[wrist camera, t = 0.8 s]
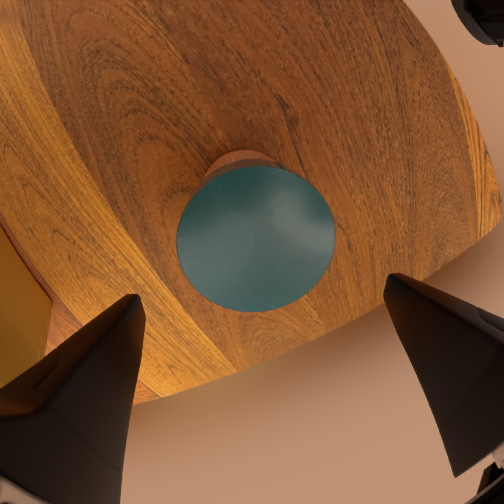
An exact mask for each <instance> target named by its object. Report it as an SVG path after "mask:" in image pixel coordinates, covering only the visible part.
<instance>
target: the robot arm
mask: <svg viewBox="0 0 504 504" xmlns="http://www.w3.org/2000/svg"><path fill="white" fill-rule="evenodd" d="M463 6H464V9H465V11H466V12H467V13H468V14H469V15H470V16H471V17H472V18H473V19H474V20H475V21H476V22H477V23H478V24H479V25H480V26H481V27H482V28H483V29H484V30H485V31H486V32H487V34H488V35H489V36H490V37H491V38H492V39H493V40H494V41H495V43H496V44H497V45H498V46H499V47H503V46H504V0H464V5H463ZM383 296H384V301H385V303H386V306H387V309H388V311H389V314H390V316H391V319H392V321H393V324H394V326H395V329H396V332H397V334H398V336H399V338H400V340H401V342H402V345H403V347H404V348H405V351H406V353H407V355H408V357H409V359H410V362H411V364H412V366H413V368H414V370H415V372H416V375H417V377H418V379H419V382H420V384H421V386H422V388H423V391H424V393H425V396H426V398H427V401H428V403H429V406H430V408H431V411H432V413H433V416H434V418H435V421H436V424H437V426H438V429H439V432H440V434H441V438H442V440H443V443H444V447H445V449H446V453H447V455H448V459H449V462H450V465H451V468H452V472H453V475H454V477H455V478H456V477H458V476H460V475H461V474H462V473H464V472H466V471H467V470H469V469H470V468H472V467H473V466H475V465H476V464H477V463H479V462H480V461H482V460H483V459H484V458H486V457H487V456H488V455H490V454H492V456H493V458H494V460H495V462H493V463H492V464H491V465H490V466H488V467H487V468H485V469H484V472H483V475H482V479H481V482H480V485H479V488H478V492H477V494H476V496H474V497H473V498H472V499H470V500H469V501H467V502H466V503H465V504H504V319H503V318H501V317H499V316H496V315H494V314H492V313H490V312H487V311H485V310H483V309H481V308H479V307H476V306H474V305H472V304H470V303H468V302H465V301H463V300H461V299H459V298H456V297H454V296H452V295H450V294H448V293H445V292H443V291H441V290H439V289H436V288H434V287H432V286H429V285H427V284H425V283H422V282H420V281H418V280H415V279H413V278H411V277H408V276H406V275H404V274H401V273H392V274H389V275H388V277H387V281H386V285H385V290H384V295H383ZM145 322H146V316H145V312H144V309H143V305H142V302H141V299H140V296H139V295H138V294H126V295H125V296H124V297H122V298H121V299H120V300H118V301H117V302H115V303H114V304H113V305H111V306H110V307H109V308H107V309H106V310H105V311H103V312H102V313H101V314H99V315H98V316H97V317H95V318H94V319H93V320H91V321H90V322H89V323H87V324H86V325H85V326H84V327H82V328H81V329H80V330H78V331H77V332H76V333H74V334H73V335H72V336H71V337H69V338H68V339H67V340H65V341H64V342H63V343H62V344H60V345H59V346H58V347H57V349H54V350H53V351H51V352H50V353H49V354H48V355H46V356H45V357H44V358H43V359H41V360H40V361H39V362H37V363H36V364H35V365H33V366H32V367H30V368H29V369H28V370H26V371H25V372H23V373H22V374H20V375H19V376H18V377H16V378H15V379H13V380H12V381H10V382H9V383H8V384H6V385H5V386H3V387H2V388H0V504H120V496H121V484H122V472H123V464H124V455H125V447H126V440H127V434H128V427H129V420H130V414H131V409H132V403H133V398H134V393H135V387H136V382H137V377H138V373H139V368H140V363H141V357H142V348H143V339H144V330H145Z"/></svg>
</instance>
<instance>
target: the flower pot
mask: <svg viewBox="0 0 504 504" xmlns="http://www.w3.org/2000/svg"><path fill="white" fill-rule="evenodd" d="M51 309H52V303H51V300H50V299H49V297H48V296H47V295H46V293H45V292H44V291H43V289H42V288H41V287H40V285H39V284H38V283H37V281H36V280H35V279H34V277H33V276H32V274H31V273H30V272H29V270H28V269H27V267H26V266H25V264H24V263H23V261H22V260H21V258H20V257H19V255H18V254H17V252H16V251H15V249H14V248H13V246H12V244H11V243H10V241H9V239H8V238H7V236H6V234H5V233H4V231H3V229H2V227H1V226H0V388H2V387H3V386H5V385H6V384H8V383H9V382H10V381H12V380H13V379H15V378H16V377H18V376H19V375H20V374H22V373H23V372H25V371H26V370H28V369H29V368H30V367H32V366H33V365H35V364H36V363H37V362H39V361H40V360H41V359H43V358H44V356H45V350H46V343H47V337H48V331H49V324H50V318H51Z"/></svg>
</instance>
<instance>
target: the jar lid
mask: <svg viewBox="0 0 504 504" xmlns="http://www.w3.org/2000/svg"><path fill="white" fill-rule="evenodd" d="M334 246H335V226H334V220H333V217H332V214H331V211H330V209H329V207H328V205H327V203H326V201H325V200H324V198H323V197H322V195H321V194H320V193H319V192H318V191H317V190H316V188H315V187H314V186H312V185H311V184H310V183H309V182H307V181H306V180H305V179H304V178H302V177H301V176H300V175H299V174H297V173H296V172H295V171H294V170H292V169H290V168H288V167H287V166H285V165H283V164H281V163H280V162H279V161H276V162H274V161H270V160H265V159H244V160H238V161H234V162H231V163H228V164H226V165H223V166H221V167H219V168H218V169H216V170H214V171H213V172H211V173H210V174H209V175H208V176H206V177H205V178H204V179H203V180H202V181H201V182H200V183H199V184H198V185H197V187H196V188H195V190H194V191H193V193H192V194H191V196H190V198H189V201H188V203H187V205H186V207H185V209H184V211H183V214H182V216H181V219H180V222H179V225H178V230H177V236H176V247H177V255H178V259H179V262H180V265H181V268H182V270H183V272H184V274H185V276H186V277H187V279H188V280H189V282H190V283H191V284H192V286H193V287H194V288H195V289H196V290H197V291H198V292H199V293H200V294H201V295H203V296H204V297H206V298H207V299H208V300H210V301H212V302H214V303H216V304H217V305H220V306H222V307H225V308H228V309H232V310H236V311H243V312H263V311H269V310H273V309H277V308H281V307H283V306H286V305H288V304H290V303H292V302H294V301H296V300H298V299H299V298H301V297H302V296H304V295H305V294H306V293H307V292H309V291H310V290H311V289H312V288H313V287H314V286H315V285H316V284H317V283H318V282H319V280H320V279H321V278H322V276H323V275H324V273H325V271H326V270H327V268H328V266H329V264H330V261H331V259H332V255H333V251H334Z"/></svg>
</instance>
